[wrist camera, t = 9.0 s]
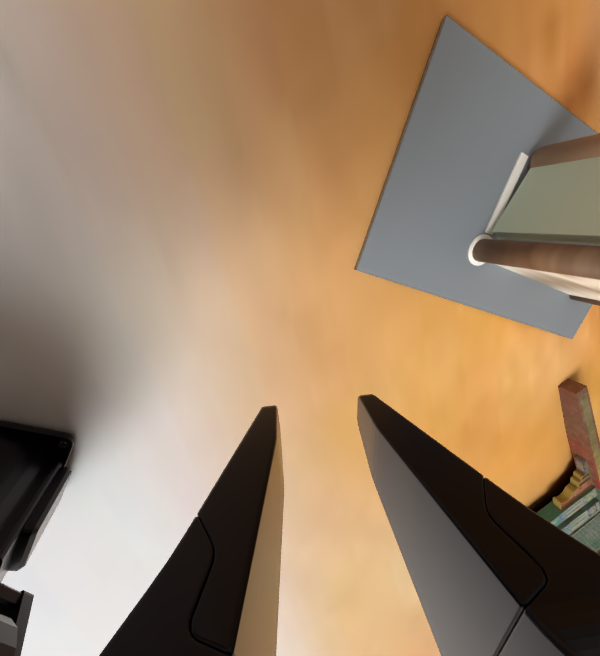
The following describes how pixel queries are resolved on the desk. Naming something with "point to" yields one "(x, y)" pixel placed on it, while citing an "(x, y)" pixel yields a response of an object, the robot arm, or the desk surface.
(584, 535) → the miniature gate
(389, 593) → the desk surface
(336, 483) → the desk surface
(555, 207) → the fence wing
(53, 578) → the desk surface
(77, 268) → the desk surface
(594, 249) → the fence section
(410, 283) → the card
